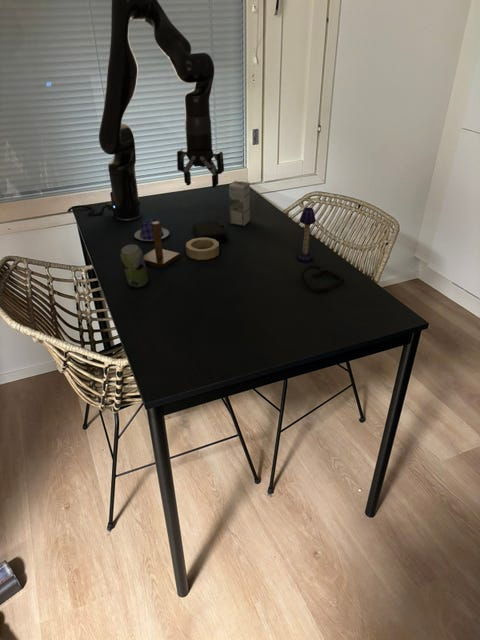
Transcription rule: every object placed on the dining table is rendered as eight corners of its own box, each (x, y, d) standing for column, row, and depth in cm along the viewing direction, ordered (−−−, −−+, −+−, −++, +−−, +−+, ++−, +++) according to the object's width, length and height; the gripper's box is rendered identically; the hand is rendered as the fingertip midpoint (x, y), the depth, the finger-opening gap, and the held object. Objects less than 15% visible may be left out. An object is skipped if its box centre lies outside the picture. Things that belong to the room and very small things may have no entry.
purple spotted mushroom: (315, 260, 155) (319, 209, 146) (303, 264, 153) (307, 212, 144) (306, 254, 158) (309, 204, 149) (294, 258, 156) (297, 207, 147)
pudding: (163, 226, 179) (161, 212, 176) (174, 238, 170) (172, 224, 167) (130, 232, 175) (128, 218, 172) (140, 245, 165) (138, 230, 163)
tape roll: (180, 255, 159) (179, 246, 157) (198, 243, 166) (197, 235, 165) (207, 262, 154) (207, 253, 153) (224, 249, 162) (224, 241, 160)
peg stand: (139, 262, 155) (134, 225, 148) (157, 251, 161) (153, 215, 154) (162, 269, 151) (158, 230, 144) (179, 257, 158) (176, 220, 151)
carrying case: (231, 241, 167) (221, 225, 179) (231, 233, 165) (220, 217, 177) (200, 245, 165) (192, 229, 177) (200, 237, 163) (191, 221, 175)
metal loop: (335, 259, 146) (352, 273, 138) (333, 275, 149) (348, 290, 140) (294, 261, 142) (308, 276, 134) (291, 278, 145) (305, 293, 137)
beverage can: (153, 280, 145) (148, 242, 138) (140, 292, 139) (135, 253, 132) (134, 277, 147) (128, 239, 140) (121, 289, 141) (114, 250, 134)
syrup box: (250, 220, 183) (250, 181, 175) (243, 226, 178) (243, 186, 170) (236, 218, 185) (235, 180, 177) (229, 224, 180) (228, 184, 172)
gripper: (225, 129, 146) (227, 183, 154) (180, 126, 149) (184, 180, 158) (217, 135, 139) (219, 191, 148) (170, 132, 143) (175, 187, 152)
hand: (201, 185), depth 153 cm, fingers open, 8 cm apart
